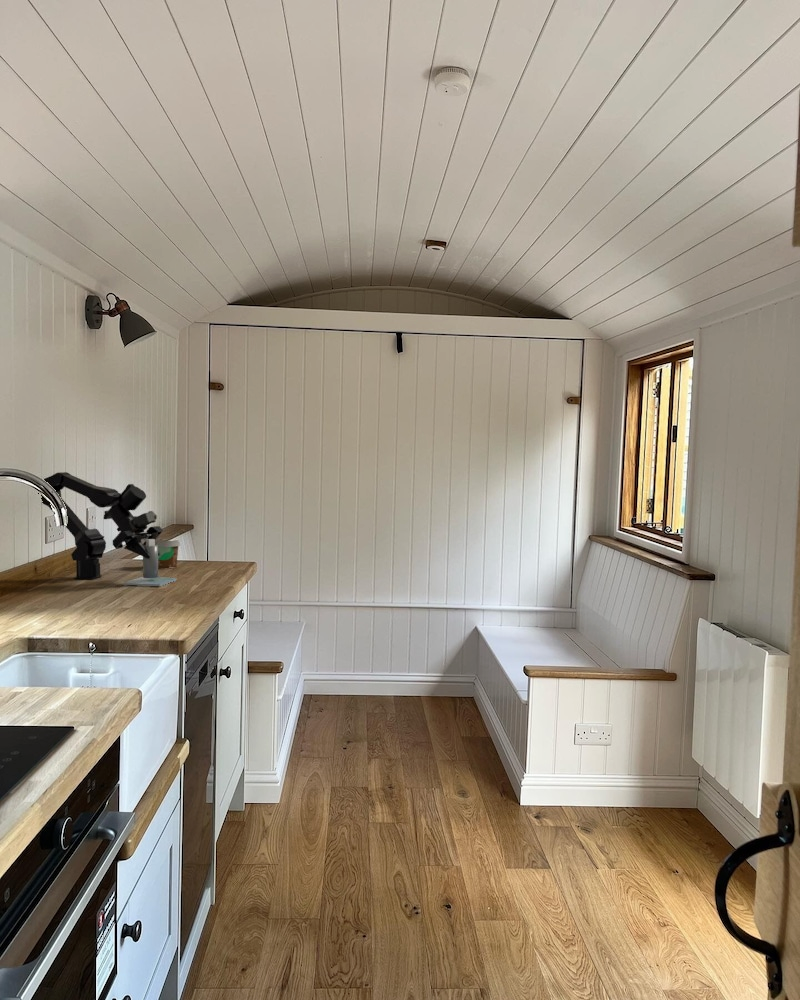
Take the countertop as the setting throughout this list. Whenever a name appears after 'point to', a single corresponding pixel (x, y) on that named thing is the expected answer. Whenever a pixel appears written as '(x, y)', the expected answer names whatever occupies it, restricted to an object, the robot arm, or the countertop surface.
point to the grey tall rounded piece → (151, 560)
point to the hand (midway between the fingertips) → (154, 556)
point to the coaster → (150, 581)
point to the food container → (167, 553)
